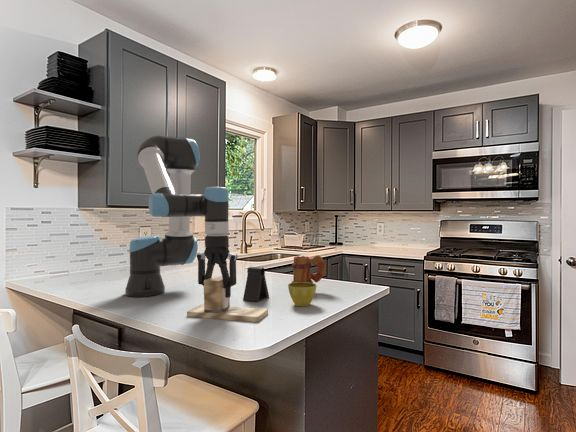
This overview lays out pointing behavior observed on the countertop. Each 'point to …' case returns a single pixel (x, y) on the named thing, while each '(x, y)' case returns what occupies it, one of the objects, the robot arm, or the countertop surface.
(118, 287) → the countertop surface
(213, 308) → the block
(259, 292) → the door stopper
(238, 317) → the board
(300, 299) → the flower pot
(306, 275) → the mug
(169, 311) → the countertop surface
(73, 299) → the countertop surface
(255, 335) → the countertop surface
